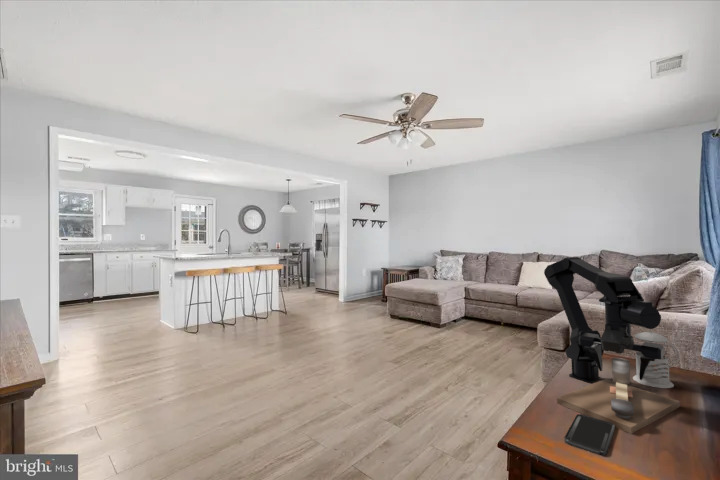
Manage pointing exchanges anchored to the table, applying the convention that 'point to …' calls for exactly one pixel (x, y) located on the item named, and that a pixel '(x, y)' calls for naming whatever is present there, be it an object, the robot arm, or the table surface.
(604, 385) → the board
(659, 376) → the french press
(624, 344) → the robot arm
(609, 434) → the phone
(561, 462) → the table surface
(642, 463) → the table surface
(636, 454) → the table surface
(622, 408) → the grey-ended beige bar
